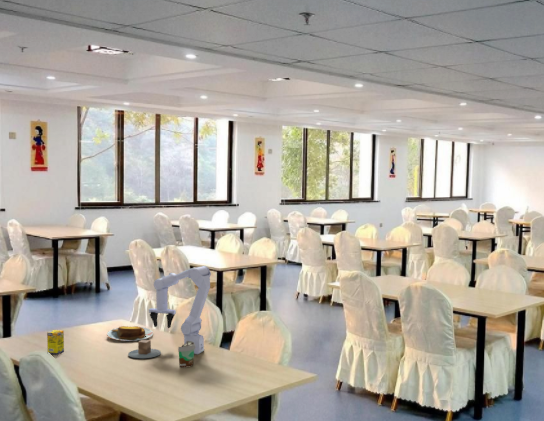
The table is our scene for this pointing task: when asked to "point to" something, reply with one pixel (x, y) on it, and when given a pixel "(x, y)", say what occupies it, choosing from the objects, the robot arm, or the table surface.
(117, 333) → the food on plate
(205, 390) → the table surface
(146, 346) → the walnut block
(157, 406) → the table surface
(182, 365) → the food container
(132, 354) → the slate dish
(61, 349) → the supplement box
